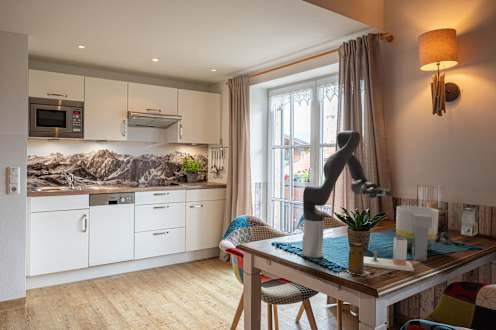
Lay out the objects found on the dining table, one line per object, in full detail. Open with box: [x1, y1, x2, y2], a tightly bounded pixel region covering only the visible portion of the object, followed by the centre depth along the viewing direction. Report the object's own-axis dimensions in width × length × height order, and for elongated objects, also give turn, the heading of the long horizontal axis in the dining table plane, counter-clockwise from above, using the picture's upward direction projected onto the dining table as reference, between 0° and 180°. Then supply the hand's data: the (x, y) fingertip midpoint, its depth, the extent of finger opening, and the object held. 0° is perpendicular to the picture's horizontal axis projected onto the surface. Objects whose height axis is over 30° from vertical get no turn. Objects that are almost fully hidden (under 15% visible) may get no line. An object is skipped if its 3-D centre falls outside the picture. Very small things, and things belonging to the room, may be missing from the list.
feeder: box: [411, 213, 432, 262], centre depth 165 cm, size 7×9×21 cm
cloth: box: [434, 231, 463, 248], centre depth 196 cm, size 22×19×6 cm
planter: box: [395, 205, 440, 251], centre depth 180 cm, size 20×20×21 cm
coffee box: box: [460, 207, 480, 237], centre depth 218 cm, size 9×6×16 cm
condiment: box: [347, 241, 371, 277], centre depth 143 cm, size 7×8×12 cm
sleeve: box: [392, 236, 408, 266], centre depth 153 cm, size 5×5×11 cm
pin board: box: [363, 251, 415, 272], centre depth 154 cm, size 20×10×5 cm, turn 74°
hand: (381, 193), depth 167 cm, fingers open, 8 cm apart
